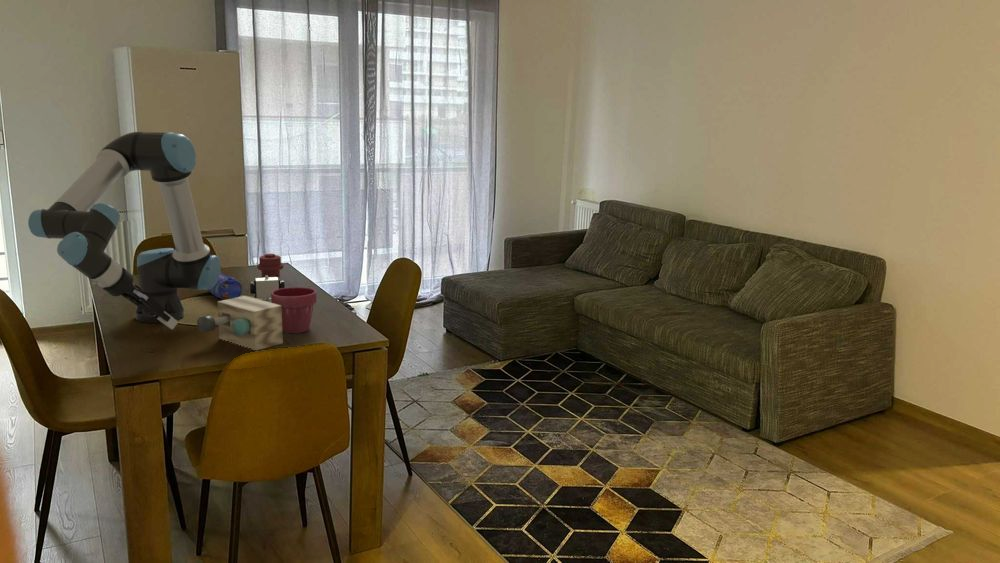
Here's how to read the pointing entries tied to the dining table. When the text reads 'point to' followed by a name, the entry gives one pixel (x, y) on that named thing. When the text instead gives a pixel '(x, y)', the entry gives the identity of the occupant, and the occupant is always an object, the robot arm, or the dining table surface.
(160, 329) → the dining table surface
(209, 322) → the knob charcoal
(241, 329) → the knob teal
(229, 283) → the pencil case
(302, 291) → the plant pot
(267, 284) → the pneumatic valve
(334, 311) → the dining table surface
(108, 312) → the dining table surface
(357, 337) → the dining table surface
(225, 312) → the block
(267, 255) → the mechanical component
